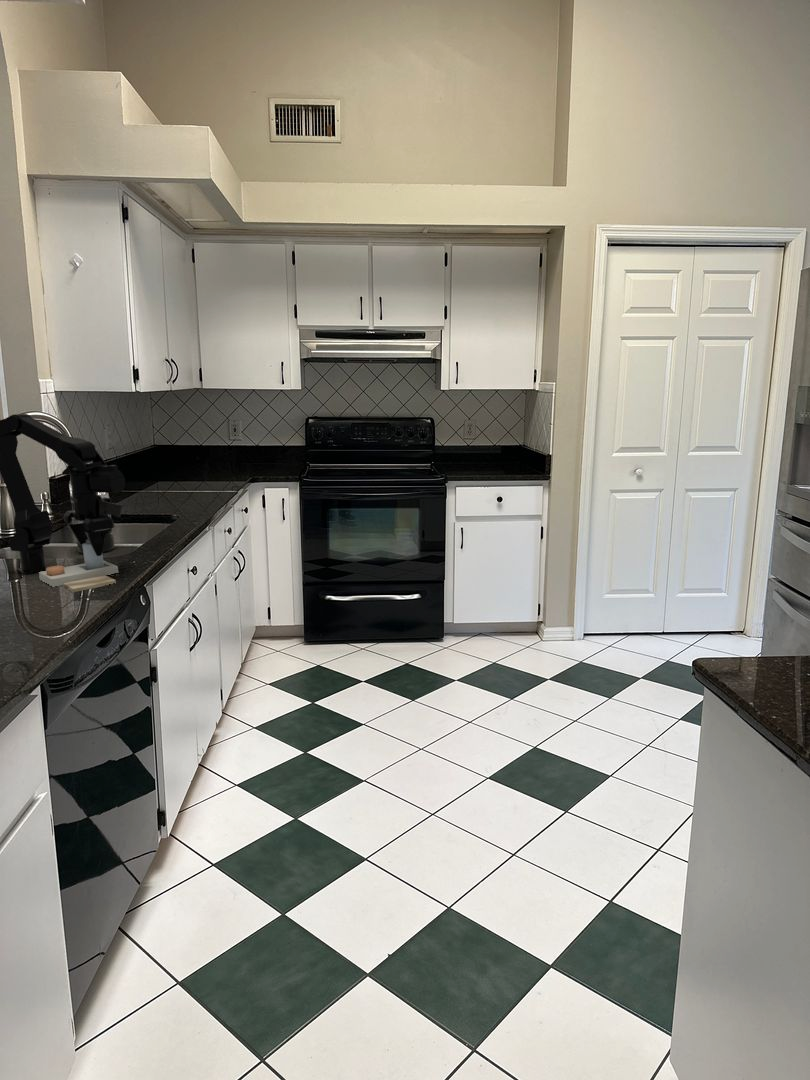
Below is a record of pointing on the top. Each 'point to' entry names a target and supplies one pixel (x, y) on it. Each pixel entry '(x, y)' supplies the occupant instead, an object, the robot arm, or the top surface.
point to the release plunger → (55, 570)
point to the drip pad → (89, 583)
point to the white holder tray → (77, 574)
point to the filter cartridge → (91, 557)
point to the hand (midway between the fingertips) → (92, 552)
